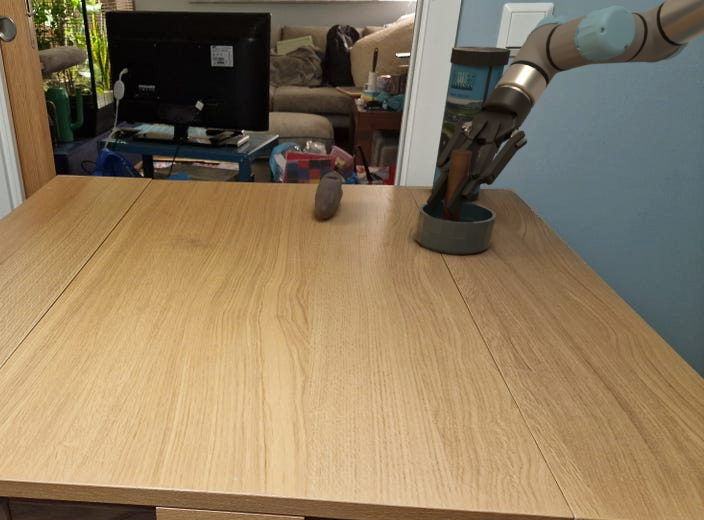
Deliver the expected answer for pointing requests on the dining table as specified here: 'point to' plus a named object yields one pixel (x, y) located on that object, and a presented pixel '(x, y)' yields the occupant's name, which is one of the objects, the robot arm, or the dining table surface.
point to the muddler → (456, 179)
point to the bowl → (455, 229)
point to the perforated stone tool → (328, 194)
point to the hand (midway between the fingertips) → (440, 208)
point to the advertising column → (470, 93)
